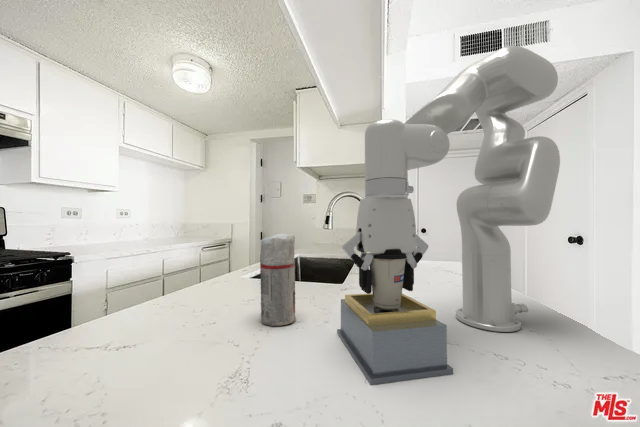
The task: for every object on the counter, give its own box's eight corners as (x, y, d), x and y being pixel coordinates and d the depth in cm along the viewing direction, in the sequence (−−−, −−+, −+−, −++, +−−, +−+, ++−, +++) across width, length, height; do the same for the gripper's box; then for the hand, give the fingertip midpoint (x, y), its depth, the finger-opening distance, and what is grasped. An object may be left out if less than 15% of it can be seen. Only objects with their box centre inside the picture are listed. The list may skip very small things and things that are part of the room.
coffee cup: (361, 306, 45) (360, 248, 45) (374, 296, 51) (374, 245, 51) (401, 314, 41) (401, 251, 42) (411, 302, 47) (411, 247, 48)
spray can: (289, 329, 55) (290, 234, 55) (253, 326, 56) (254, 234, 57) (300, 315, 63) (301, 233, 64) (268, 312, 65) (269, 232, 65)
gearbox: (337, 333, 53) (337, 291, 53) (402, 327, 56) (401, 287, 56) (370, 385, 36) (370, 323, 36) (461, 372, 39) (460, 315, 39)
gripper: (417, 194, 52) (418, 283, 52) (334, 192, 49) (334, 287, 48) (442, 190, 45) (443, 293, 44) (346, 187, 41) (346, 299, 41)
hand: (386, 289), depth 46 cm, fingers open, 7 cm apart
